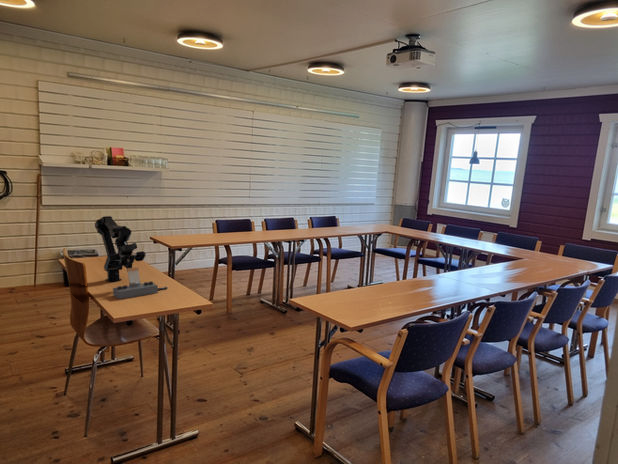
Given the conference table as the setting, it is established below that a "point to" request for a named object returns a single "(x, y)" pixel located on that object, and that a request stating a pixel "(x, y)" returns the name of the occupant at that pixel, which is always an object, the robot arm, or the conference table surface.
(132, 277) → the lever
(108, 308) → the conference table surface
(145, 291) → the breaker box
